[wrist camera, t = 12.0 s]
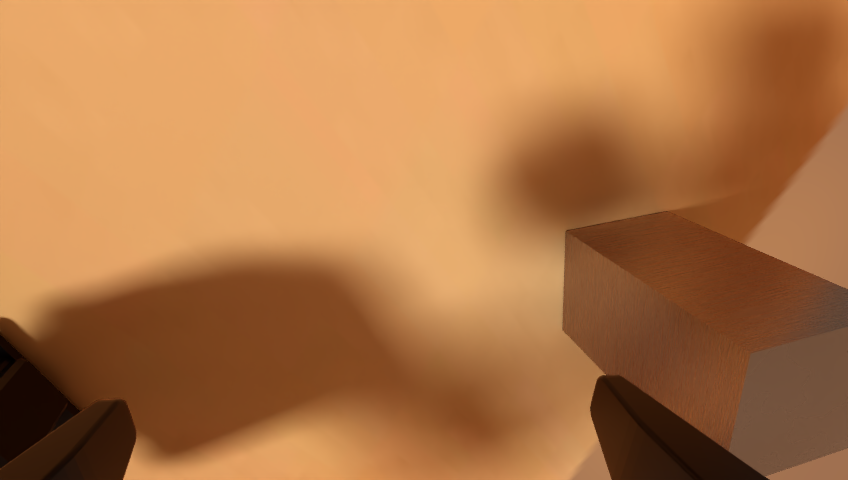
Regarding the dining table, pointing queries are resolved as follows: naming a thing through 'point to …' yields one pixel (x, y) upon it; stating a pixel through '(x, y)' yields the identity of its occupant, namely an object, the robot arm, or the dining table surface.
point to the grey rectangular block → (714, 334)
